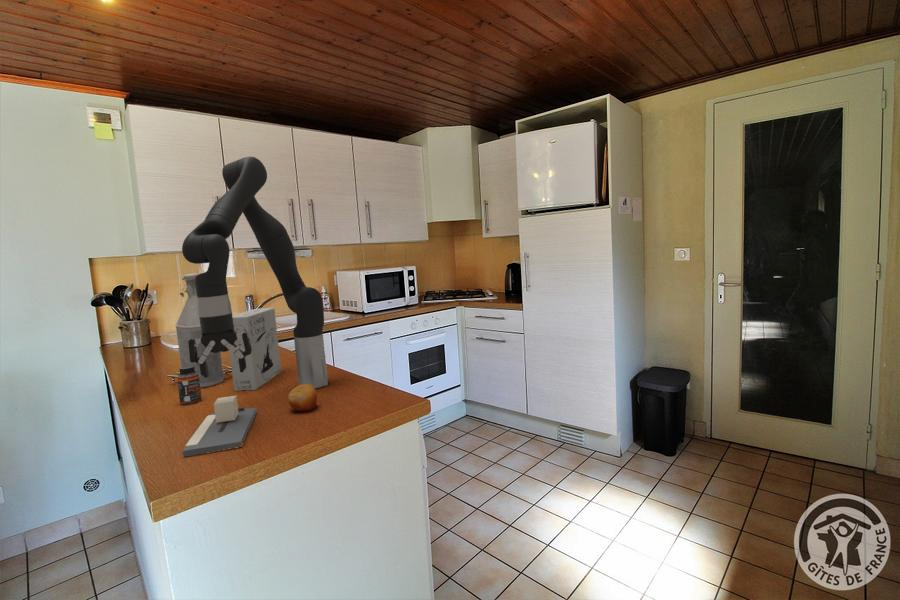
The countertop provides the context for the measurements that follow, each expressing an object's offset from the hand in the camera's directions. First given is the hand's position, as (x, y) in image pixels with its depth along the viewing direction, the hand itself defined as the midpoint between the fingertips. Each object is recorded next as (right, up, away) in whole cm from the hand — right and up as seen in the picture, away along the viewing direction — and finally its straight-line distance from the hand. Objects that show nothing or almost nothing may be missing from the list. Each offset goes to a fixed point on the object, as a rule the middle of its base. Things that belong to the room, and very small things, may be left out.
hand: (224, 374), depth 115 cm
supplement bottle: (-22, -13, +23) cm, 35 cm away
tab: (0, -12, +1) cm, 12 cm away
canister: (-31, -11, +45) cm, 55 cm away
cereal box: (-9, -10, +43) cm, 45 cm away
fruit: (+17, -12, +11) cm, 24 cm away
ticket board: (+2, -14, -3) cm, 15 cm away
